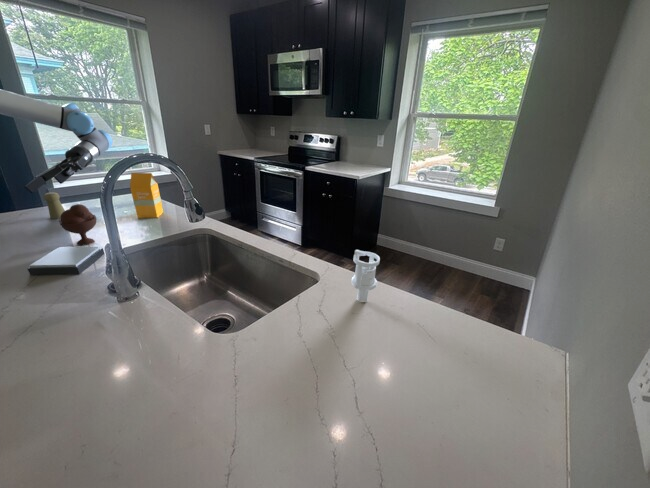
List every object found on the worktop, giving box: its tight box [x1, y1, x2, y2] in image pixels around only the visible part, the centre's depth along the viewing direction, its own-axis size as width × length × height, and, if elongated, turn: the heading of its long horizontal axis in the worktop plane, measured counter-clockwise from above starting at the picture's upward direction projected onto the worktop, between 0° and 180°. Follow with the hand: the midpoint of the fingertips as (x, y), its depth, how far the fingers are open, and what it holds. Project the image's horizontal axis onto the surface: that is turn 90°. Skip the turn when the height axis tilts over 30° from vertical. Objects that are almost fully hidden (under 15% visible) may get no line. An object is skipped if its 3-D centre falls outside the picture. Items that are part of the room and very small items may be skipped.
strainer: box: [350, 249, 381, 303], centre depth 83 cm, size 7×7×15 cm
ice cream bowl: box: [58, 203, 97, 247], centre depth 110 cm, size 11×11×15 cm
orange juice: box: [129, 172, 164, 219], centre depth 138 cm, size 8×9×20 cm
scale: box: [27, 246, 106, 276], centre depth 97 cm, size 14×14×3 cm
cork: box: [43, 192, 66, 220], centre depth 133 cm, size 6×6×11 cm
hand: (42, 185), depth 100 cm, fingers open, 13 cm apart
